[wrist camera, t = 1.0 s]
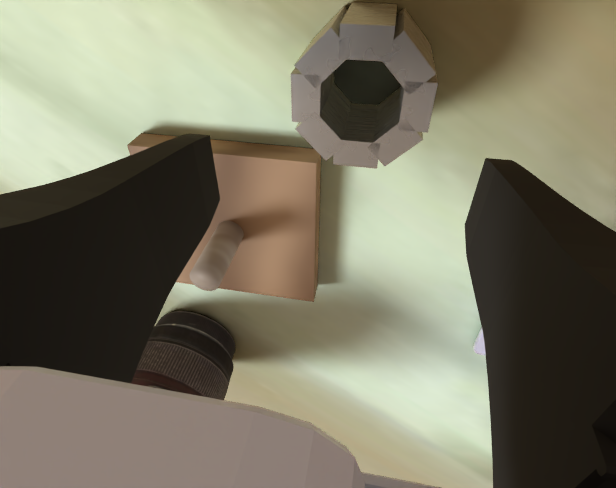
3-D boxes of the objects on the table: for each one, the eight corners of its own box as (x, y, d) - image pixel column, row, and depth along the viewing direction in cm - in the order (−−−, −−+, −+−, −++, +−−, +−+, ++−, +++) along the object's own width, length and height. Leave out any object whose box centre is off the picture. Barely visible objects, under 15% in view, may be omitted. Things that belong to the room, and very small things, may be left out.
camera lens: (132, 306, 32) (-16, 519, 21) (217, 301, 30) (98, 544, 19) (179, 363, 37) (78, 562, 26) (257, 365, 34) (181, 588, 23)
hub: (440, 5, 16) (449, 28, 13) (417, 130, 19) (419, 172, 16) (310, 0, 17) (289, 21, 13) (310, 122, 20) (292, 160, 17)
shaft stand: (321, 149, 21) (299, 209, 17) (317, 285, 27) (301, 353, 23) (141, 133, 22) (80, 185, 18) (178, 266, 28) (139, 327, 24)
